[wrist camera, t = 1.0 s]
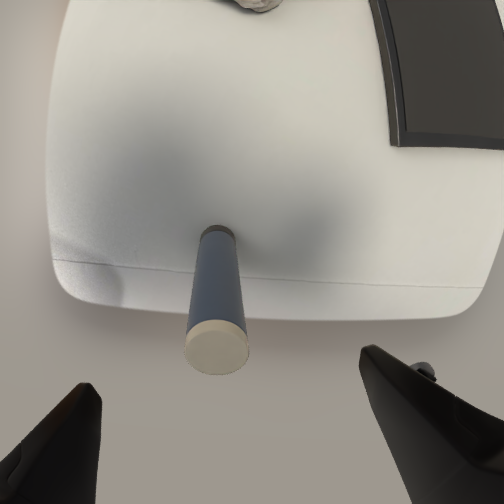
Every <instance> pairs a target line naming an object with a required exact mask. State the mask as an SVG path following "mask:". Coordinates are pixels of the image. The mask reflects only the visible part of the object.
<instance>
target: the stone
mask: <svg viewBox="0 0 504 504" xmlns="http://www.w3.org/2000/svg"><path fill="white" fill-rule="evenodd" d="M235 1H236V2H237V3H238V4H239V5H241V6H242V7H243V8H252V9H253V10H254V11H256V12H263V11H268V10H270V9H272V8H274V7H276V6H277V5H279V4H280V3H281V2H282V0H235Z"/></svg>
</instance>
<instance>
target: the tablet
mask: <svg viewBox="0 0 504 504" xmlns="http://www.w3.org/2000/svg"><path fill="white" fill-rule="evenodd" d="M369 1H370V5H371V9H372V13H373V17H374V22H375V26H376V31H377V36H378V41H379V46H380V52H381V57H382V64H383V70H384V77H385V85H386V93H387V102H388V112H389V124H390V139H391V145H392V146H396V147H458V148H479V149H493V150H504V30H503V26H502V22H501V19H500V15H499V12H498V9H497V6H496V3H495V0H369Z"/></svg>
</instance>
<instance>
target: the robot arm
mask: <svg viewBox="0 0 504 504" xmlns="http://www.w3.org/2000/svg"><path fill="white" fill-rule="evenodd" d="M359 370H360V373H361V376H362V380H363V383H364V386H365V389H366V392H367V395H368V398H369V402H370V404H371V408H372V410H373V412H374V415H375V417H376V419H377V421H378V424H379V426H380V428H381V431H382V433H383V435H384V437H385V440H386V442H387V444H388V447H389V449H390V451H391V453H392V456H393V458H394V460H395V463H396V465H397V468H398V470H399V472H400V475H401V477H402V480H403V482H404V484H405V487H406V489H407V492H408V494H409V497H410V499H411V502H412V504H504V421H503V420H501V419H498V418H496V417H494V416H492V415H490V414H487V413H486V412H483V411H482V410H480V409H478V408H475V407H474V406H472V405H470V404H469V403H467V402H465V401H464V400H462V399H460V398H459V397H457V396H456V397H455V395H454V394H452V393H451V392H449V391H447V390H446V389H444V388H443V387H441V386H439V385H438V384H436V383H435V382H436V380H437V379H436V377H435V376H433V375H431V374H430V373H428V372H427V371H425V370H423V369H422V368H418V369H417V370H414V369H412V368H411V367H409V366H408V365H406V364H404V363H403V362H401V361H400V360H398V359H397V358H395V357H393V356H392V355H390V354H389V353H387V352H386V351H384V350H383V349H381V348H379V347H378V346H376V345H373V344H372V345H368V346H365V347H363V348H362V349H361V354H360V360H359ZM101 418H102V399H101V397H100V396H99V394H98V393H97V391H96V390H95V389H94V387H93V386H92V385H91V384H90V383H79V384H78V385H77V386H76V387H75V388H74V389H73V390H72V391H71V392H70V393H69V394H68V395H67V396H66V397H65V398H64V399H63V400H62V401H61V402H60V403H59V404H58V405H57V406H56V407H55V408H54V409H53V410H52V411H51V412H50V413H49V414H48V415H47V416H46V417H45V418H44V419H43V420H42V421H41V422H40V423H39V424H38V425H37V426H36V427H35V428H34V429H33V430H32V431H31V432H30V433H29V434H28V435H27V436H26V437H25V438H24V439H23V440H22V441H21V443H19V444H18V445H17V446H16V447H15V448H14V449H13V450H12V452H10V453H9V454H8V455H7V456H6V457H5V458H4V459H3V460H2V461H1V462H0V504H95V497H96V482H97V470H98V460H99V450H100V441H101Z"/></svg>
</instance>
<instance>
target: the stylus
mask: <svg viewBox="0 0 504 504" xmlns="http://www.w3.org/2000/svg"><path fill="white" fill-rule="evenodd" d="M184 353H185V357H186V360H187V361H188V362H189V364H190V365H191V366H192V367H193V368H194V369H196V370H198V371H200V372H202V373H205V374H209V375H225V374H229V373H232V372H235V371H237V370H238V369H240V368H241V367H242V366H243V365H244V364H245V363H246V361H247V359H248V357H249V347H248V340H247V332H246V324H245V317H244V309H243V301H242V293H241V285H240V277H239V269H238V261H237V253H236V245H235V238H234V235H233V233H232V232H231V231H230V230H229V229H228V228H227V227H224V226H221V225H214V226H211V227H209V228H207V229H206V230H205V231H204V232H203V233H202V235H201V238H200V243H199V249H198V256H197V262H196V268H195V275H194V281H193V288H192V295H191V302H190V309H189V317H188V325H187V332H186V341H185V350H184Z"/></svg>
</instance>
